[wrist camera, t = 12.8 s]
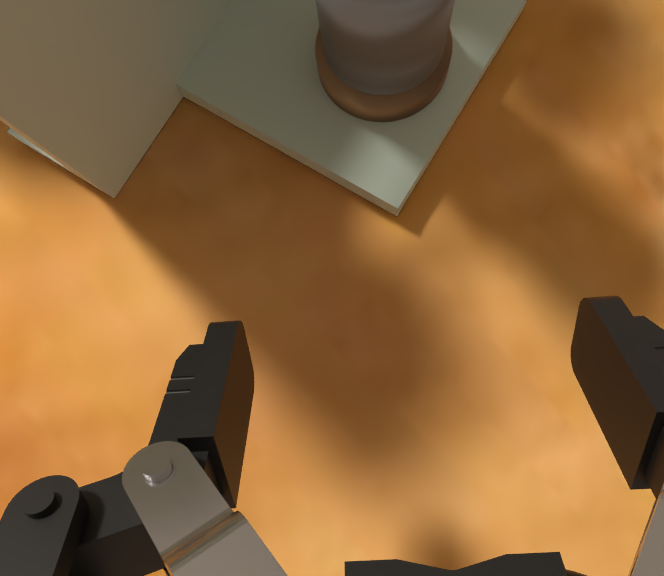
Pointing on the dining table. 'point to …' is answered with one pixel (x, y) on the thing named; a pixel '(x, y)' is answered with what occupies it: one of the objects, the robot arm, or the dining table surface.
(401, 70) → the ball
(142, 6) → the slide bolt latch
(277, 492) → the dining table surface
